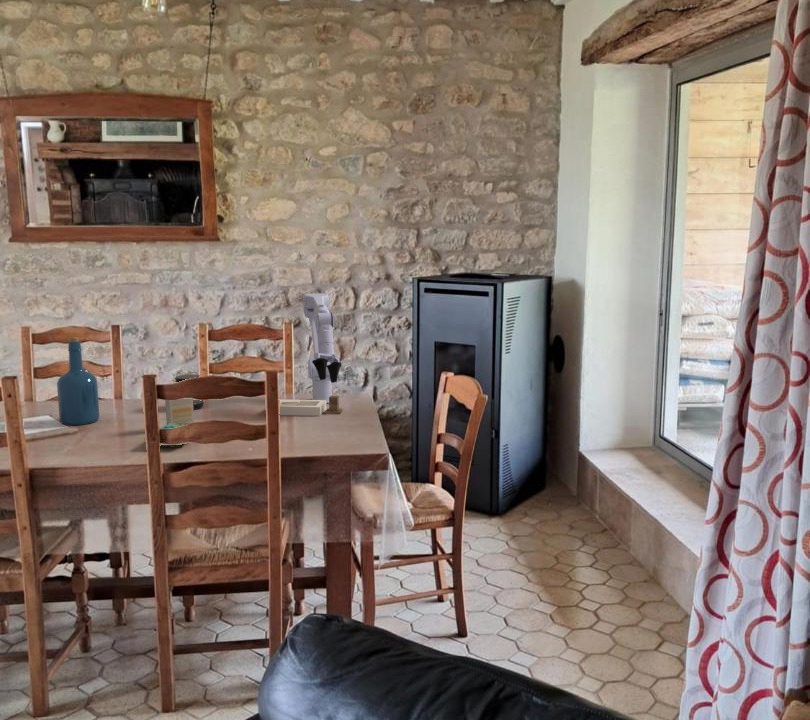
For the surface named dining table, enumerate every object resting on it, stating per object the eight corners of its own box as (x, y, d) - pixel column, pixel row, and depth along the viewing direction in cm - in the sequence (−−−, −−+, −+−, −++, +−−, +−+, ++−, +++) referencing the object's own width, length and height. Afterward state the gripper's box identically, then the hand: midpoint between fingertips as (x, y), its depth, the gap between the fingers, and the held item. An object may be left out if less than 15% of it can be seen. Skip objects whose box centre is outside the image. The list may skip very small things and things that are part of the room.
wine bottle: (92, 426, 281) (85, 339, 276) (53, 426, 281) (46, 340, 276) (106, 416, 294) (100, 334, 290) (69, 417, 294) (63, 334, 289)
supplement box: (189, 425, 281) (187, 387, 279) (194, 427, 278) (192, 390, 275) (166, 428, 277) (164, 390, 275) (170, 431, 273) (168, 393, 271)
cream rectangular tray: (274, 407, 307) (273, 399, 307) (326, 408, 306) (326, 400, 305) (265, 415, 296) (265, 406, 295) (320, 415, 294) (320, 407, 293)
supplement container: (178, 405, 313) (177, 374, 311) (206, 404, 314) (204, 373, 312) (172, 411, 303) (170, 379, 301) (201, 410, 303) (199, 379, 302)
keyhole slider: (328, 410, 302) (327, 395, 301) (343, 411, 302) (342, 395, 301) (325, 414, 297) (324, 398, 296) (340, 414, 296) (340, 398, 295)
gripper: (324, 339, 291) (327, 376, 288) (345, 345, 304) (348, 381, 301) (307, 342, 294) (310, 379, 291) (329, 349, 307) (331, 384, 304)
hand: (328, 380), depth 296 cm, fingers open, 7 cm apart
